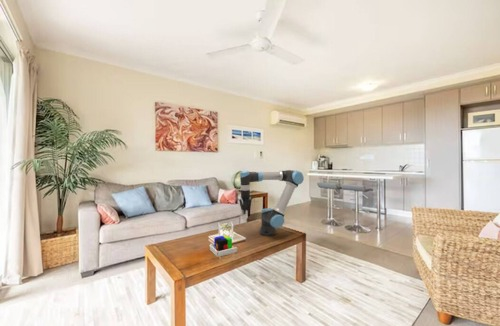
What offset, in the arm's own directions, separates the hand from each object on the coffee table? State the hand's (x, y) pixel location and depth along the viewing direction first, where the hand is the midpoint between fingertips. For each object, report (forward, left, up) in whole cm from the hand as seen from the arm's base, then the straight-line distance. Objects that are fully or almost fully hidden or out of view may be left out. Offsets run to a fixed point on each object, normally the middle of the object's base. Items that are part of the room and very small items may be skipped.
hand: (246, 217), depth 180 cm
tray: (+22, +3, -21) cm, 31 cm away
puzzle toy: (+23, +4, -21) cm, 32 cm away
